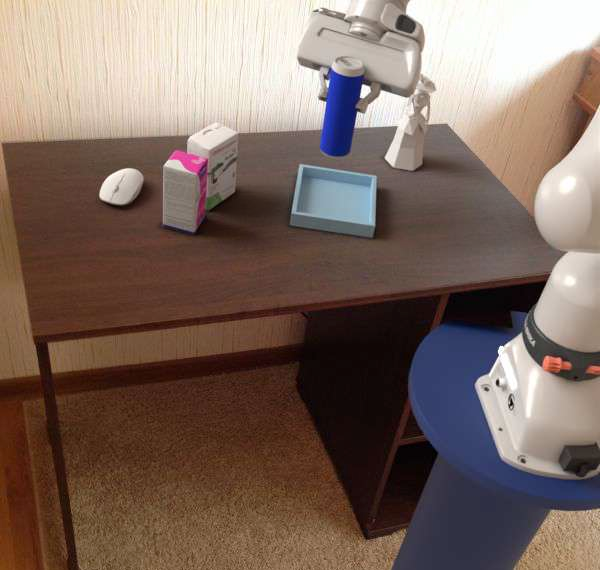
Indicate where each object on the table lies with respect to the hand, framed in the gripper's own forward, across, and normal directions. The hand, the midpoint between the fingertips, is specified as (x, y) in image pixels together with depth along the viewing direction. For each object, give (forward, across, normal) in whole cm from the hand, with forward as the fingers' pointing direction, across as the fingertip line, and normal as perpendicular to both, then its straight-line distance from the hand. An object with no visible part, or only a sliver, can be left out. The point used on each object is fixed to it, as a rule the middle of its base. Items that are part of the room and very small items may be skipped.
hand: (341, 105), depth 119 cm
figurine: (-4, +7, +33) cm, 34 cm away
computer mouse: (+24, -33, +5) cm, 41 cm away
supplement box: (+25, -20, +4) cm, 32 cm away
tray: (+12, +1, +17) cm, 21 cm away
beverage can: (+6, 0, +6) cm, 9 cm away
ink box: (+19, -19, +10) cm, 29 cm away
